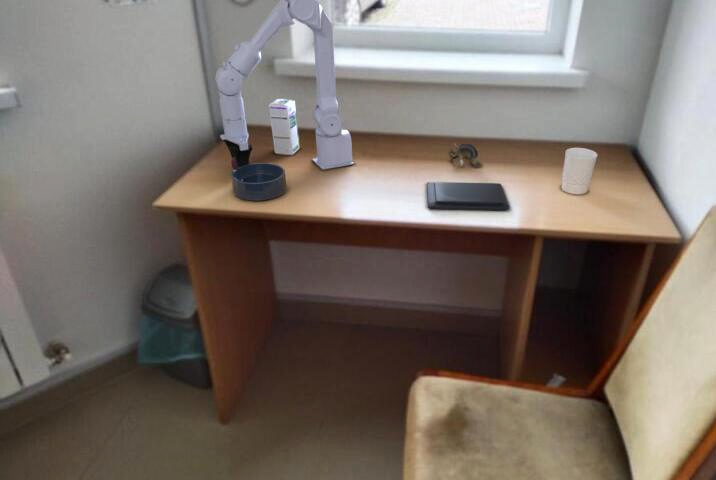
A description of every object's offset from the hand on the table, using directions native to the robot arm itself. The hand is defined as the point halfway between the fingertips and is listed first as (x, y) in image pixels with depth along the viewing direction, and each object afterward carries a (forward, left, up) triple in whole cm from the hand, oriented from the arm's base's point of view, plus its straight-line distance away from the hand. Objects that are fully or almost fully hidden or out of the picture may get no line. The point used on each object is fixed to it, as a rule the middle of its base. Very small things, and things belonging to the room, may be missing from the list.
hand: (241, 167), depth 150 cm
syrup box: (-16, -10, -2) cm, 19 cm away
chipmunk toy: (-58, +21, -2) cm, 62 cm away
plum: (0, 0, -1) cm, 1 cm away
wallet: (-46, +40, -2) cm, 61 cm away
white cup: (-75, +48, -2) cm, 89 cm away
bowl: (-1, +14, -1) cm, 14 cm away
